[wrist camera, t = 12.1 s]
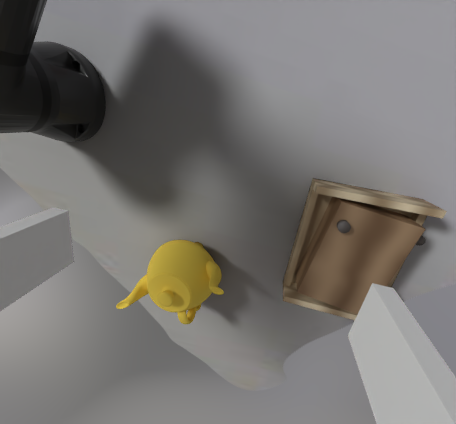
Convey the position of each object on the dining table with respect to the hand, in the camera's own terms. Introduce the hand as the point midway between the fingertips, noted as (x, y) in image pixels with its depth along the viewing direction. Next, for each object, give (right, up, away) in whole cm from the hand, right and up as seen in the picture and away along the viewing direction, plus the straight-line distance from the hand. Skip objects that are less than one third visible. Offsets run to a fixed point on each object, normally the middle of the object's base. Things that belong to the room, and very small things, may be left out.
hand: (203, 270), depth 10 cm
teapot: (-6, -8, +38) cm, 39 cm away
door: (+20, -3, +29) cm, 35 cm away
